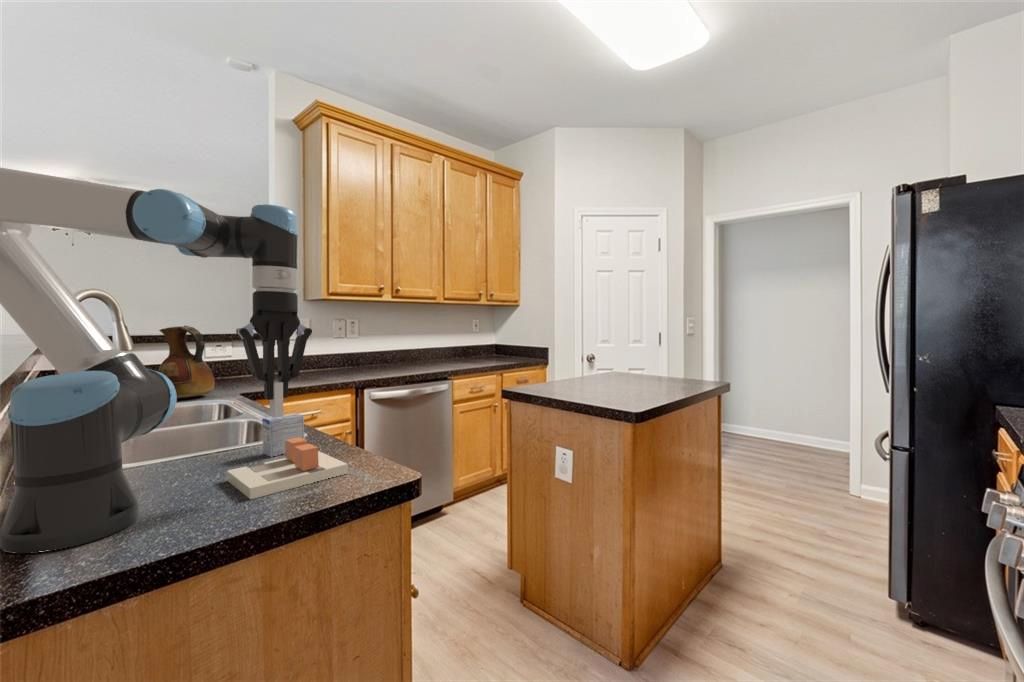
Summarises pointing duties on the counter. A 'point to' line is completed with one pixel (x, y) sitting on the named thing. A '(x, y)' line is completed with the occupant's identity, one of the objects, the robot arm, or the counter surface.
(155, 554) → the counter surface
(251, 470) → the switch bank
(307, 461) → the near tab
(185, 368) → the ceramic pitcher
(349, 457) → the counter surface
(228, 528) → the counter surface
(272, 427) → the medicine box
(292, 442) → the far tab
